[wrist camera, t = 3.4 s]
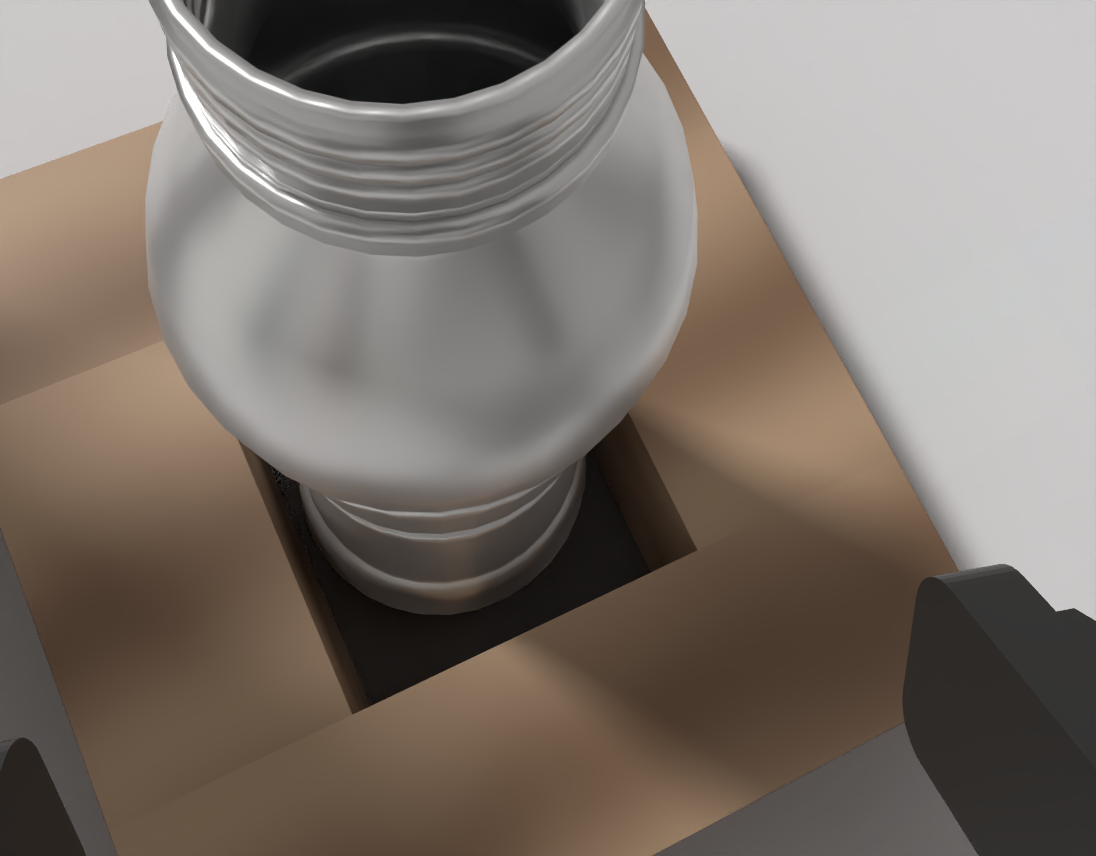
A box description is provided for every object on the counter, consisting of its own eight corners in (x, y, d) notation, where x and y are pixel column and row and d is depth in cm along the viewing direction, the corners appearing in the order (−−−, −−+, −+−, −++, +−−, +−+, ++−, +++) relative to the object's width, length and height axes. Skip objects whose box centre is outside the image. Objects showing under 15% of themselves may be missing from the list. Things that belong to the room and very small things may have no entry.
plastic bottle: (272, 573, 25) (-329, 152, 6) (374, 326, 27) (156, -598, 8) (524, 661, 25) (714, 514, 6) (609, 408, 27) (963, -326, 8)
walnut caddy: (-7, 307, 27) (-111, 218, 22) (592, 80, 30) (617, -41, 25) (258, 1012, 23) (202, 1094, 18) (910, 672, 26) (1011, 664, 21)
